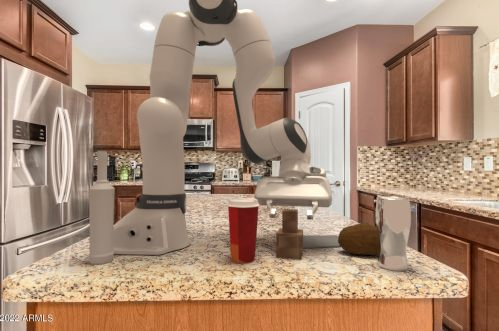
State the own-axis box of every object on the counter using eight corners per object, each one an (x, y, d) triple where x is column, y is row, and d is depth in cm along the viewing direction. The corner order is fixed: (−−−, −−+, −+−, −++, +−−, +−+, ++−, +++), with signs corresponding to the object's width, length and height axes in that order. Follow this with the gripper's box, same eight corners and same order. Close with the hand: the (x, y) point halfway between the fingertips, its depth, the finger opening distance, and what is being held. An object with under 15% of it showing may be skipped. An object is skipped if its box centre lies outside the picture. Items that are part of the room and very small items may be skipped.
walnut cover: (276, 257, 70) (276, 211, 70) (279, 250, 75) (279, 208, 76) (301, 259, 68) (301, 212, 68) (303, 252, 74) (303, 209, 74)
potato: (335, 248, 78) (335, 219, 78) (383, 250, 77) (383, 220, 77) (341, 257, 70) (341, 225, 70) (395, 259, 69) (395, 227, 69)
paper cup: (263, 256, 70) (263, 198, 71) (253, 266, 63) (253, 202, 63) (233, 253, 73) (233, 197, 73) (220, 262, 66) (220, 200, 66)
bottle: (94, 257, 69) (95, 151, 69) (117, 257, 69) (118, 151, 69) (84, 265, 63) (85, 150, 64) (109, 264, 64) (110, 150, 64)
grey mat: (299, 248, 77) (299, 247, 77) (286, 237, 89) (286, 236, 89) (355, 246, 80) (355, 245, 80) (336, 236, 92) (336, 235, 92)
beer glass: (417, 272, 60) (417, 199, 60) (383, 271, 61) (383, 199, 61) (400, 261, 67) (400, 196, 67) (370, 261, 67) (370, 196, 68)
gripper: (256, 169, 83) (248, 208, 73) (331, 169, 78) (333, 211, 69) (259, 184, 87) (252, 222, 78) (330, 185, 82) (332, 226, 73)
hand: (290, 217), depth 73 cm, fingers open, 8 cm apart
